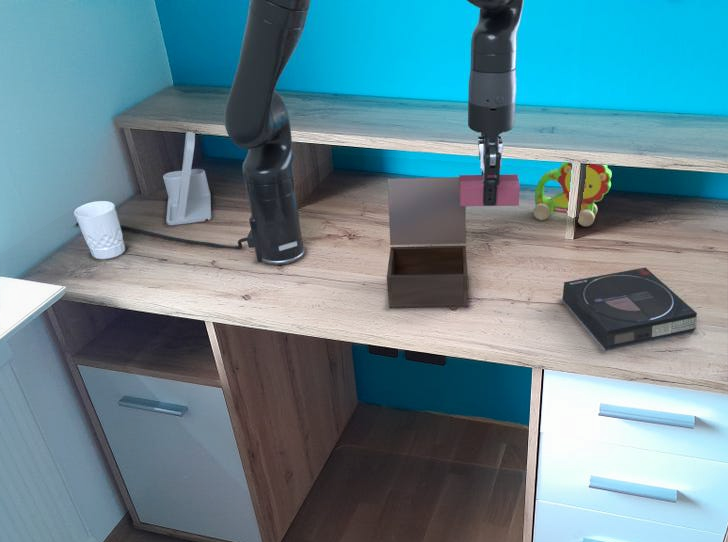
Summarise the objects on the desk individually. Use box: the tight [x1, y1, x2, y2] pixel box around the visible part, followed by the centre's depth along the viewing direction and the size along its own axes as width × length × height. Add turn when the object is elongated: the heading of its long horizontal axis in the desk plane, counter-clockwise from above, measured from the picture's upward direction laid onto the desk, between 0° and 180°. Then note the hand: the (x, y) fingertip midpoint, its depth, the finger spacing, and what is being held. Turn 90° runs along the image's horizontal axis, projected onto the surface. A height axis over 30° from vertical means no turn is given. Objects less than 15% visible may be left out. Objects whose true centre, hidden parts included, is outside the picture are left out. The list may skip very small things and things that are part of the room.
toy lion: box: [533, 162, 613, 227], centre depth 150 cm, size 16×5×15 cm, turn 69°
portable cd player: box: [561, 267, 698, 352], centre depth 121 cm, size 16×17×4 cm
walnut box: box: [386, 245, 469, 310], centre depth 129 cm, size 11×14×7 cm
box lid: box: [387, 176, 467, 246], centre depth 130 cm, size 12×14×1 cm
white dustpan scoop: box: [162, 132, 212, 226], centre depth 160 cm, size 17×10×18 cm, turn 15°
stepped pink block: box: [458, 173, 521, 207], centre depth 119 cm, size 10×5×4 cm, turn 90°
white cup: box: [73, 200, 126, 260], centre depth 145 cm, size 8×8×10 cm
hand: (488, 197), depth 120 cm, fingers closed on stepped pink block, 5 cm apart
